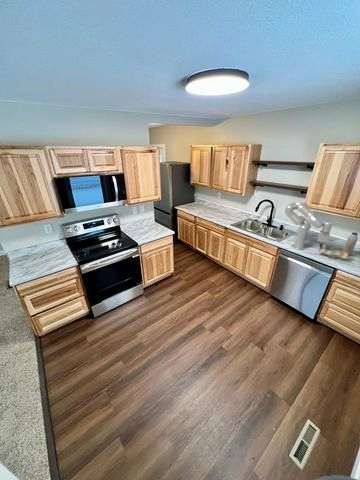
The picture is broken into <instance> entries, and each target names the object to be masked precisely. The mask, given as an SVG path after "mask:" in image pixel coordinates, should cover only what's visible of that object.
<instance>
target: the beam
mask: <svg viewBox="0 0 360 480" xmlns="http://www.w3.org/2000/svg"><path fill="white" fill-rule="evenodd" d="M318 249H319V250H318V253H321V254H325V255H327V258H329V259H332V260H335V259H336V258H342V259H346V260H347V259H348V253H345V252H343V251H340V250H335V249H332V248H331V249H330V251H329V250H325V247H323V246H322V247H320V246H319V248H318Z"/></svg>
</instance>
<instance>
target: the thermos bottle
mask: <svg viewBox="0 0 360 480" xmlns="http://www.w3.org/2000/svg"><path fill="white" fill-rule="evenodd" d="M358 235H359V234H358V233H357V232H351V234H350V235H349V236H348V237H347V240H346V242H345V245H344V247H343V250H342V252H345V253H348V257H349V258H350V257H351V256H352V253H353V251H354V249H355V246H356V244H357V242H358V239H359V238H358Z"/></svg>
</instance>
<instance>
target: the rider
mask: <svg viewBox="0 0 360 480" xmlns="http://www.w3.org/2000/svg"><path fill="white" fill-rule="evenodd" d="M324 248H325V250H329V251H330V249H332V245H331V244H330V245H329V244H325V247H324Z"/></svg>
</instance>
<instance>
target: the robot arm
mask: <svg viewBox="0 0 360 480" xmlns="http://www.w3.org/2000/svg"><path fill="white" fill-rule="evenodd" d="M295 210H298V212H299V213H300V214H302V215H298V214H297V213H296V212H295ZM284 213H285V215H286V216H287V218H289V220H290V221H291V222H292V223H293V224H294V225H296V226H299V227H298V230H297V234H296V239H295V242H290V245H292V248H293V249H295V250H298V251H304V250H305V247H304V246H305V242H306V239H307V236H308V231H310V229H311V227H313V228H315V229H320V228H321V230H319V235H318V236H317V240H316V242H317V243H318V244H319V245H318V246H319V248H320V247H323V246H324V244H325V245H329V244H328V243H329V240H330V235H331V234H330V232H331V230H332V227H333V222H332V221H327V220H325V219H317V218H316V217H315V216H314V211H312V210H311V209H310V208H309V205H308V203H306V202H291V203H290V204H287V205H286V207H285V208H284Z"/></svg>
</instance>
